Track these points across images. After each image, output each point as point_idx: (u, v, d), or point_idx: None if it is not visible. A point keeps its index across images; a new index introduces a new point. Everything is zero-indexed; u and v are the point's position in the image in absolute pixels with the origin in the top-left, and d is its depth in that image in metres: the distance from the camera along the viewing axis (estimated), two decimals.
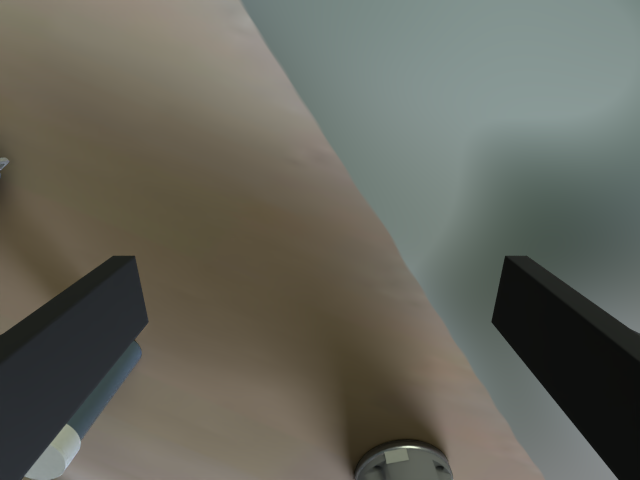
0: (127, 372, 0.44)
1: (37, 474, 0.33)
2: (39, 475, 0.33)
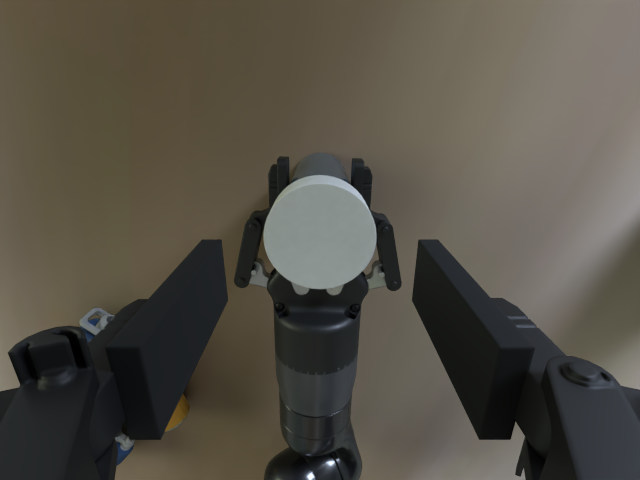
0: (317, 158, 0.28)
1: (360, 235, 0.17)
2: (362, 231, 0.17)
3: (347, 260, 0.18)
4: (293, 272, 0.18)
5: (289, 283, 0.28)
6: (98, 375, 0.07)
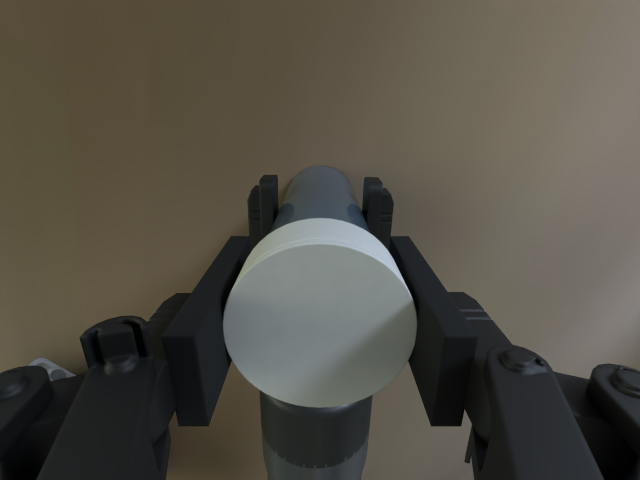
0: (316, 175, 0.20)
1: (390, 327, 0.10)
2: (393, 322, 0.10)
3: (366, 365, 0.10)
4: (275, 383, 0.11)
5: None
6: (156, 364, 0.08)
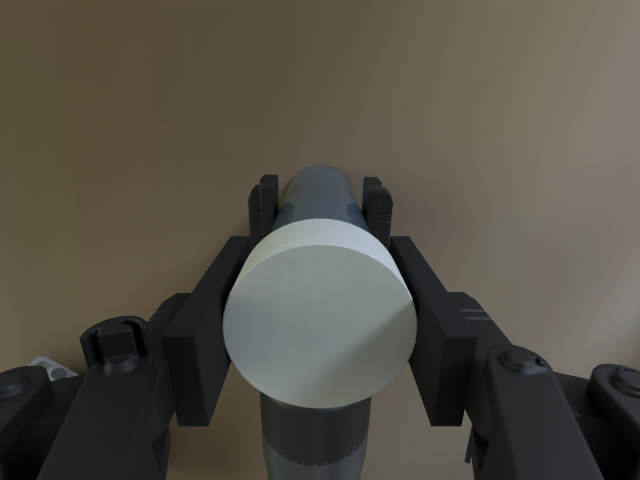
0: (316, 175, 0.21)
1: (347, 275, 0.09)
2: (342, 270, 0.09)
3: (378, 313, 0.10)
4: (351, 390, 0.11)
5: None
6: (156, 364, 0.08)
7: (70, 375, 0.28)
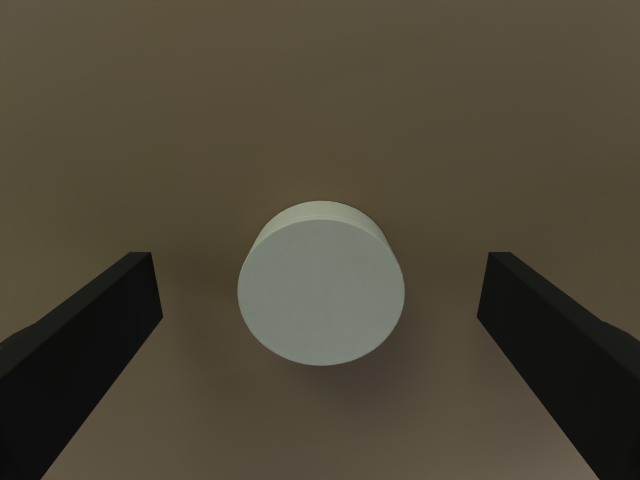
0: None
1: (344, 245, 0.11)
2: (339, 241, 0.11)
3: (371, 279, 0.11)
4: (348, 349, 0.12)
5: None
6: None
7: None
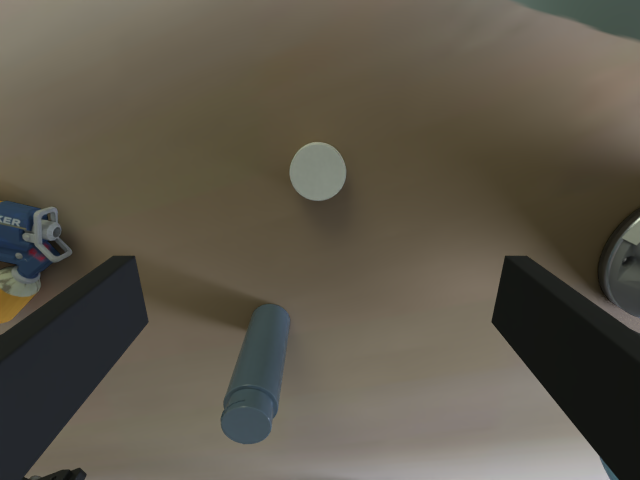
0: (284, 329, 0.39)
1: (325, 153, 0.34)
2: (323, 152, 0.34)
3: (334, 165, 0.34)
4: (327, 193, 0.35)
5: None
6: None
7: (58, 236, 0.37)
